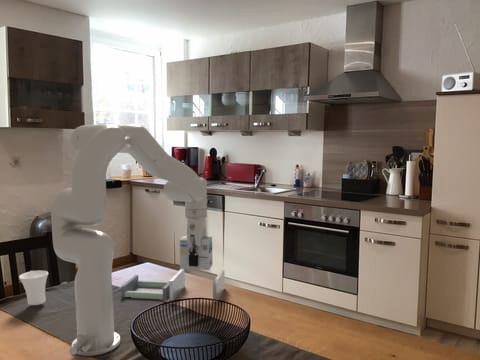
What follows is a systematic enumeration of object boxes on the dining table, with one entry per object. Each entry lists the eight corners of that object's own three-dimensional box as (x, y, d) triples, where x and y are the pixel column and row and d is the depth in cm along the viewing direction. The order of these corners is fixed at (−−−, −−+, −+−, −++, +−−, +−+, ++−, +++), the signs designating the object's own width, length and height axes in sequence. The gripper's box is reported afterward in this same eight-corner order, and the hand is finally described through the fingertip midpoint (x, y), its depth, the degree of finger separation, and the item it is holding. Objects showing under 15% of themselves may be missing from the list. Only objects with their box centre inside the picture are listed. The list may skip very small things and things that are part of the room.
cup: (47, 295, 151) (45, 267, 150) (52, 303, 143) (50, 274, 142) (19, 300, 146) (17, 272, 145) (22, 309, 138) (20, 279, 137)
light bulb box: (212, 265, 154) (212, 235, 153) (209, 270, 147) (209, 239, 147) (183, 264, 155) (183, 235, 154) (179, 269, 148) (178, 239, 148)
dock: (166, 299, 148) (165, 288, 148) (121, 297, 151) (121, 286, 151) (177, 287, 161) (176, 276, 160) (135, 285, 163) (135, 275, 163)
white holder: (216, 303, 145) (216, 282, 144) (169, 300, 147) (169, 280, 147) (224, 288, 158) (224, 270, 158) (181, 286, 161) (181, 268, 160)
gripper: (200, 217, 141) (200, 270, 142) (212, 209, 158) (212, 257, 159) (178, 216, 142) (178, 269, 143) (192, 209, 159) (192, 256, 160)
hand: (196, 262), depth 151 cm, fingers closed on light bulb box, 7 cm apart
